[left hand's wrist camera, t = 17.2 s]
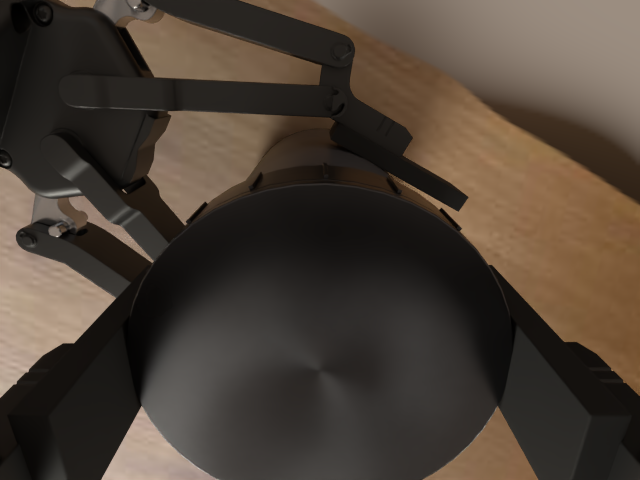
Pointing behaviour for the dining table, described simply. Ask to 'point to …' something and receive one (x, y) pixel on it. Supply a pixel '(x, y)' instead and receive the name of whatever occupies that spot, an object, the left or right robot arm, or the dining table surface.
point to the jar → (312, 154)
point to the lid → (319, 332)
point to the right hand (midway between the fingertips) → (399, 276)
